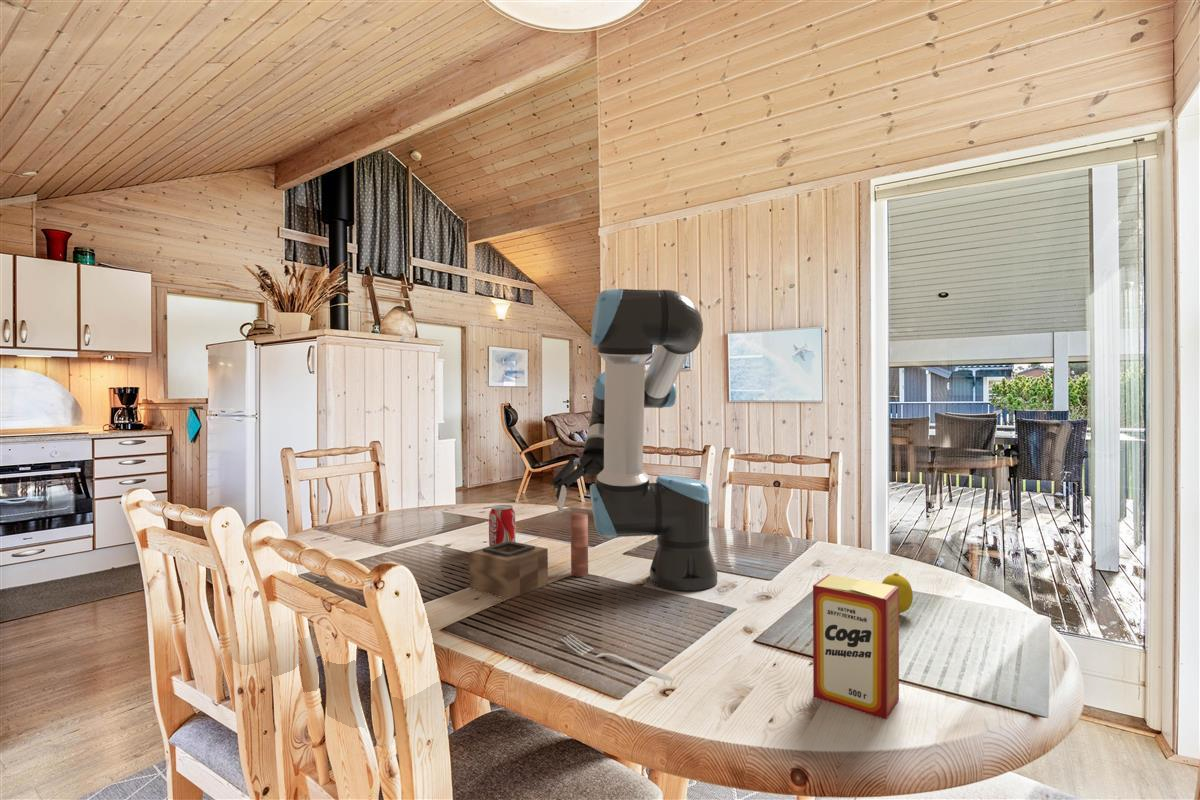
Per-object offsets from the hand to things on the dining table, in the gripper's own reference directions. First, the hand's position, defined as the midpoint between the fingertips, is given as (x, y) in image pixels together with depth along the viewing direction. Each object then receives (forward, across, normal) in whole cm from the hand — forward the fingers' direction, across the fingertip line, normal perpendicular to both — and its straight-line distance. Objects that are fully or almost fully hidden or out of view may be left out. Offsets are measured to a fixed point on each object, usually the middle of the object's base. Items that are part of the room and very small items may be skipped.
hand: (585, 510), depth 150 cm
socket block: (+23, +12, +5) cm, 27 cm away
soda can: (+4, +25, -15) cm, 30 cm away
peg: (+15, 0, -4) cm, 16 cm away
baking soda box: (+49, -52, +30) cm, 78 cm away
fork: (+46, -19, +27) cm, 57 cm away
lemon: (+24, -66, +5) cm, 70 cm away
